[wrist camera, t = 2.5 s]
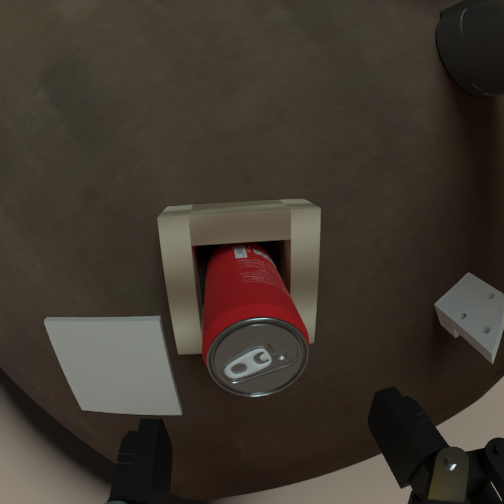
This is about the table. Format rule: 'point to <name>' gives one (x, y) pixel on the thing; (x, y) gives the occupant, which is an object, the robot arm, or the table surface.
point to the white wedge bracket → (473, 314)
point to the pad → (116, 363)
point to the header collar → (237, 231)
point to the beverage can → (250, 323)
